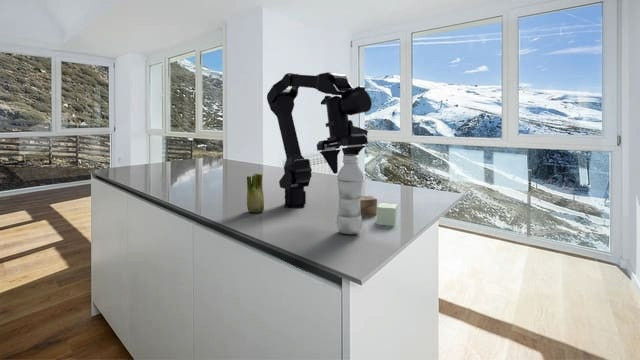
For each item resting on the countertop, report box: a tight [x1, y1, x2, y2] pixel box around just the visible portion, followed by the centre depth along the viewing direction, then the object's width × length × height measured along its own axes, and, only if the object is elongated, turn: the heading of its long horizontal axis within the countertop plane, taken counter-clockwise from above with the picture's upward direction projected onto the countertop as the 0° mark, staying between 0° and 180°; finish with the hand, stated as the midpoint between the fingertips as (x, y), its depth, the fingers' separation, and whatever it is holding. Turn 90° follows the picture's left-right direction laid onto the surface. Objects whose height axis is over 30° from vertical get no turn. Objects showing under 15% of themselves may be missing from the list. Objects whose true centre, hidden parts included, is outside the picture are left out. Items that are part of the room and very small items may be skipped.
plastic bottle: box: [335, 154, 365, 235], centre depth 92 cm, size 6×7×20 cm
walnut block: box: [360, 195, 378, 217], centre depth 112 cm, size 5×5×5 cm
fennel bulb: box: [246, 173, 265, 214], centre depth 112 cm, size 6×5×12 cm
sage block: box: [376, 202, 398, 227], centre depth 102 cm, size 5×5×5 cm
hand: (343, 173), depth 104 cm, fingers open, 9 cm apart
